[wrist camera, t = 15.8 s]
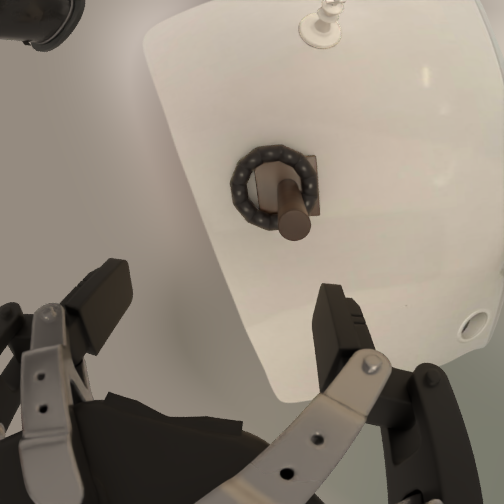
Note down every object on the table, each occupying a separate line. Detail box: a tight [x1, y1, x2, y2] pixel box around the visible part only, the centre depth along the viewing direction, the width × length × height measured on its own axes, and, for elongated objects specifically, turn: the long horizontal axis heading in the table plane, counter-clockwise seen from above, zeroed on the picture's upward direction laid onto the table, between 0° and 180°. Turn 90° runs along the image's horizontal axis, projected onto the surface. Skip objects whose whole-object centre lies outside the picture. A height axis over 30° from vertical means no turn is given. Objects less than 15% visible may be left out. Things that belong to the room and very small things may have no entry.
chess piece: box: [299, 0, 345, 49], centre depth 18 cm, size 5×5×10 cm
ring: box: [230, 145, 319, 231], centre depth 30 cm, size 10×10×2 cm
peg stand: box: [254, 155, 320, 241], centre depth 26 cm, size 7×7×13 cm
